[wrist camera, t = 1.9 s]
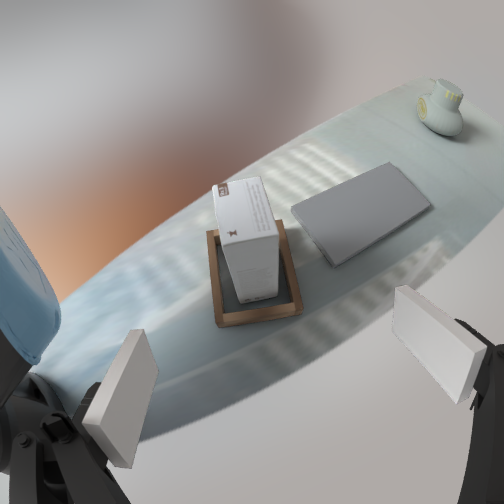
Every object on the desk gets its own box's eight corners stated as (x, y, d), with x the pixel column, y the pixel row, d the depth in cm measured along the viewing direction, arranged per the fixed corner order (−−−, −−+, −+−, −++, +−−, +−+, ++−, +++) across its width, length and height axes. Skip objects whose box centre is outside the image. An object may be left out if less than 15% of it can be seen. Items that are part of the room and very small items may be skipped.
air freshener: (458, 147, 42) (477, 108, 33) (423, 135, 43) (440, 93, 35) (444, 116, 47) (458, 80, 39) (412, 106, 48) (424, 67, 40)
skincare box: (279, 296, 31) (286, 236, 20) (237, 305, 30) (221, 249, 20) (266, 247, 34) (265, 172, 23) (227, 255, 33) (210, 183, 23)
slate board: (333, 268, 32) (335, 264, 31) (290, 211, 36) (291, 206, 35) (428, 208, 35) (430, 204, 34) (387, 166, 39) (389, 161, 38)
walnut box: (218, 327, 29) (215, 322, 27) (209, 240, 34) (206, 231, 33) (301, 314, 29) (303, 308, 28) (281, 229, 35) (281, 219, 33)
